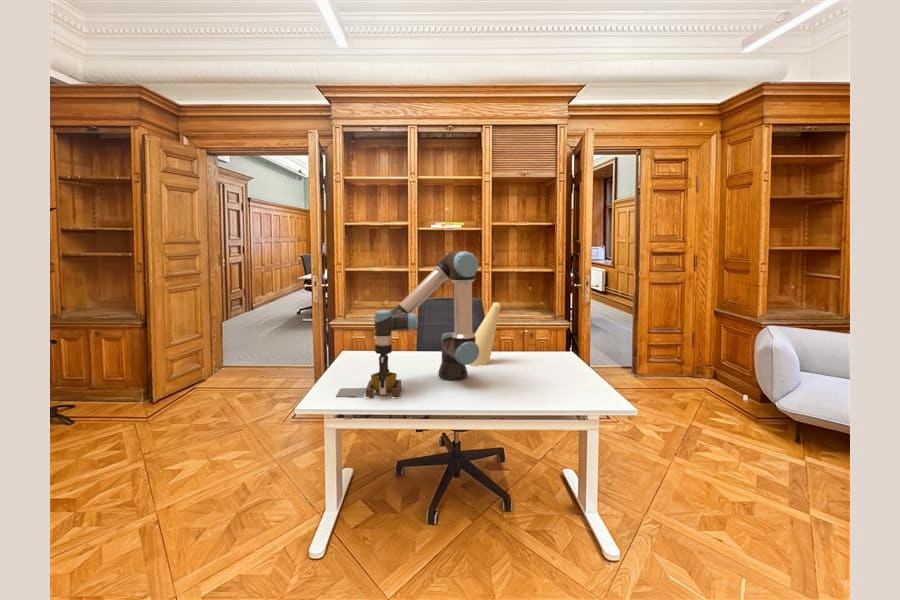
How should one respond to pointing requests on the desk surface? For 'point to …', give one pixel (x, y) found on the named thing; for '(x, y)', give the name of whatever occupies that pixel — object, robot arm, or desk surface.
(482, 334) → the cone light
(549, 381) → the desk surface
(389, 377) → the flower pot
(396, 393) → the pair of brown brackets
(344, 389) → the slate mat
